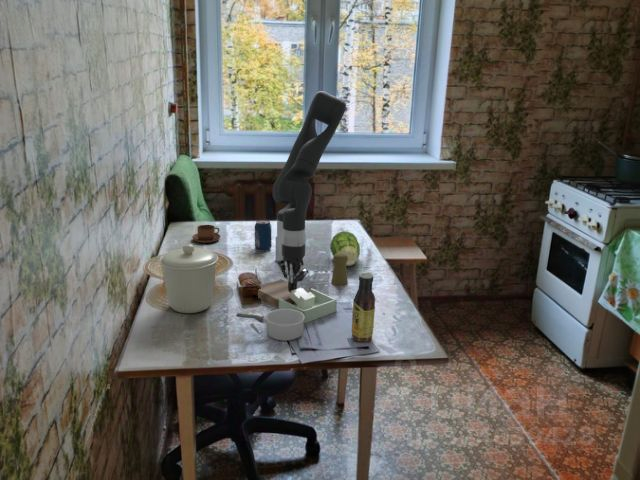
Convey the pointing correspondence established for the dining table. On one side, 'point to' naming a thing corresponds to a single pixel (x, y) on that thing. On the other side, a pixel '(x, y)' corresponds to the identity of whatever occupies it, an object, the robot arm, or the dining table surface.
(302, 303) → the tile
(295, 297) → the tile
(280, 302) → the tray
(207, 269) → the canister
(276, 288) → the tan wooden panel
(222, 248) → the dining table surface
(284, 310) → the saucepan
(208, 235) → the cup and saucer
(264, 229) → the soda can
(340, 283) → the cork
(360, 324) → the sauce bottle
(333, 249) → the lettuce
